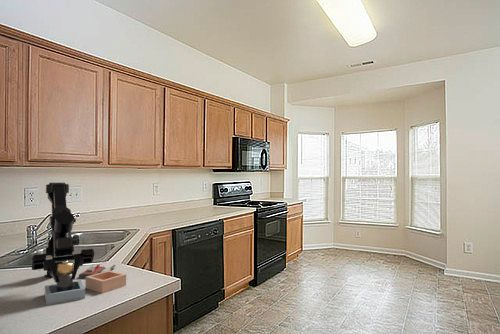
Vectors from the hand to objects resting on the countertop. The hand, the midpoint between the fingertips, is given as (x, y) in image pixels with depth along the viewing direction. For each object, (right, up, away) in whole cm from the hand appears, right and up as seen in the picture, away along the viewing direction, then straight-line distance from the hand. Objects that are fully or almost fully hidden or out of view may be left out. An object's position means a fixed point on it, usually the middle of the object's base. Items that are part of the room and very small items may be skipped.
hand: (65, 280), depth 112 cm
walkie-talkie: (-2, -8, +30) cm, 31 cm away
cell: (-1, -6, +1) cm, 6 cm away
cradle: (-1, -7, +1) cm, 7 cm away
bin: (+9, -7, +11) cm, 16 cm away
